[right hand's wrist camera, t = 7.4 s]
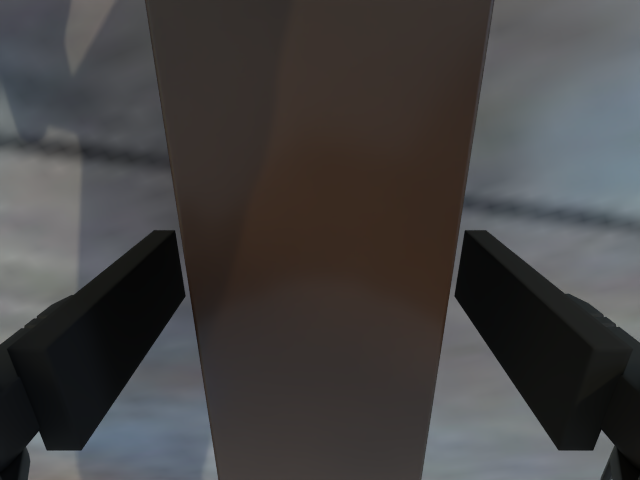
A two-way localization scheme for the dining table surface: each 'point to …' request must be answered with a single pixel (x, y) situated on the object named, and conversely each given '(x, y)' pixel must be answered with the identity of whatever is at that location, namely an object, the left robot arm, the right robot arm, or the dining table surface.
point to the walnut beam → (319, 218)
